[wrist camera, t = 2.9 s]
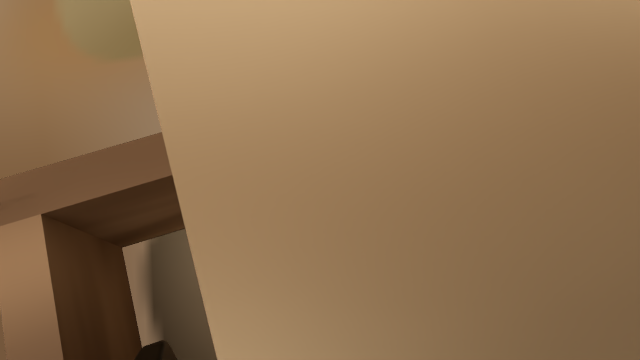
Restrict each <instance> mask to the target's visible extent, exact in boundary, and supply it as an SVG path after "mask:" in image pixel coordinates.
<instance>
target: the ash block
mask: <svg viewBox="0 0 640 360" xmlns="http://www.w3.org/2000/svg"><path fill="white" fill-rule="evenodd" d="M130 2H131V6H132V11H133V15H134V19H135V23H136V27H137V31H138V35H139V39H140V44H141V48H142V52H143V56H144V60H145V64H146V68H147V72H148V76H149V80H150V85H151V89H152V93H153V97H154V101H155V105H156V109H157V113H158V118H159V122H160V126H161V130H162V134H163V138H164V142H165V147H166V151H167V155H168V159H169V163H170V167H171V171H172V175H173V179H174V184H175V188H176V192H177V196H178V200H179V204H180V208H181V212H182V217H183V221H184V225H185V229H186V233H187V237H188V241H189V245H190V249H191V254H192V258H193V262H194V266H195V270H196V274H197V278H198V282H199V287H200V291H201V295H202V299H203V303H204V307H205V311H206V315H207V319H208V324H209V328H210V332H211V336H212V340H213V344H214V348H215V352H216V357H217V360H640V0H130Z"/></svg>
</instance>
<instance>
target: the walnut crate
mask: <svg viewBox="0 0 640 360" xmlns="http://www.w3.org/2000/svg"><path fill="white" fill-rule="evenodd" d="M184 228H185V225H184V221H183V217H182V212H181V208H180V204H179V200H178V196H177V192H176V188H175V184H174V179H173V175H172V171H171V167H170V163H169V159H168V155H167V151H166V147H165V142H164V138H163V134H162V132H161V133H158V134H154V135H150V136H147V137H144V138H140V139H137V140H133V141H130V142H127V143H123V144H119V145H116V146H112V147H109V148H106V149H102V150H99V151H95V152H92V153H88V154H85V155H81V156H78V157H74V158H71V159H68V160H64V161H61V162H57V163H54V164H50V165H47V166H44V167H40V168H36V169H33V170H30V171H26V172H23V173H20V174H16V175H13V176H9V177H5V178H2V179H0V309H1V318H2V326H3V334H4V341H5V350H6V357H7V360H134V359H135V357H136V356H137V354H138V353H139V351H140V350H141V349H142V346H141V341H140V336H139V331H138V326H137V321H136V316H135V311H134V306H133V301H132V296H131V291H130V286H129V281H128V276H127V272H126V266H125V261H124V256H123V252H122V247H126V246H129V245H132V244H135V243H139V242H142V241H145V240H148V239H152V238H155V237H158V236H161V235H164V234H168V233H171V232H174V231H177V230H181V229H184Z"/></svg>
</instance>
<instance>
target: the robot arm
mask: <svg viewBox="0 0 640 360" xmlns="http://www.w3.org/2000/svg"><path fill="white" fill-rule="evenodd" d="M134 360H177V358H176V356H175V354H174V352H173V350H172V348H171V347H170V345H169V344H168V343H167V342H166V341H163V340H162V341H159V342H156V343H153V344H150V345H146V346H144V347H143V348H142V349H141V350H140V351H139V353H138V354H137V356H136V357H135V359H134Z"/></svg>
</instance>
